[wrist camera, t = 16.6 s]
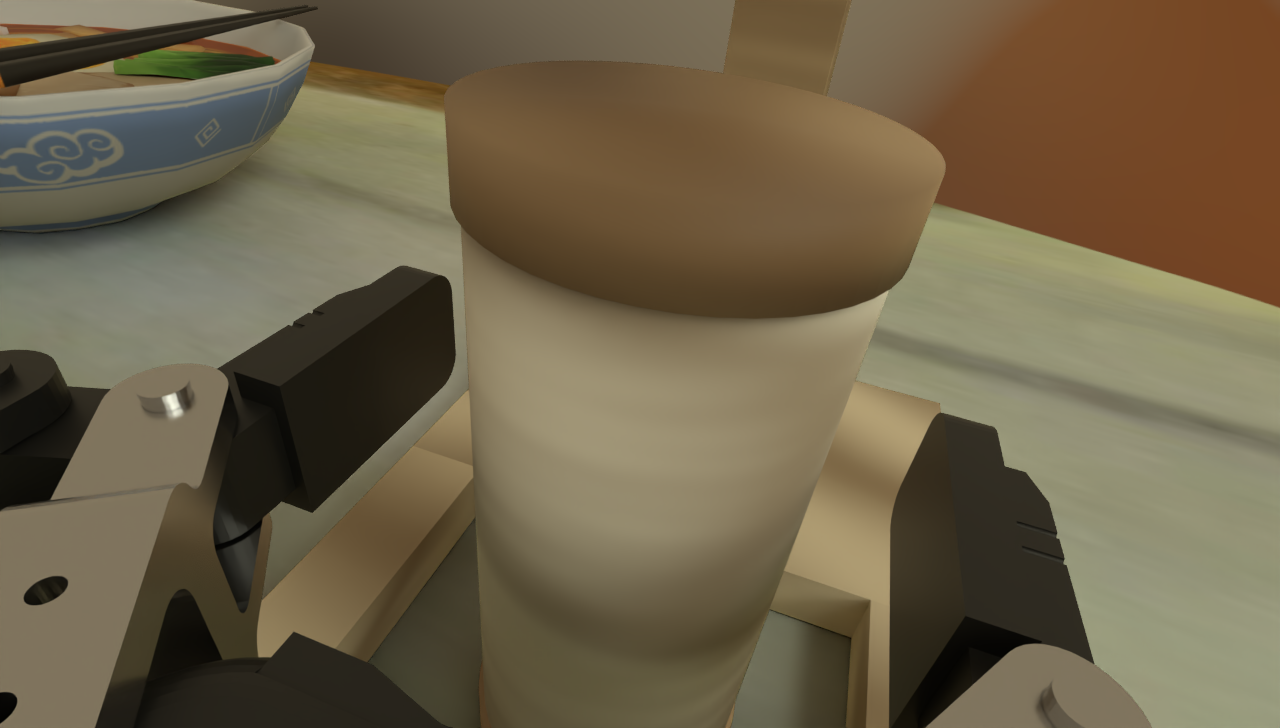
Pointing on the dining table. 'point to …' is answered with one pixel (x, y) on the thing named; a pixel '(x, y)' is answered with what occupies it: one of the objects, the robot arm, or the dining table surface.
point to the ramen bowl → (134, 102)
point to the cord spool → (657, 364)
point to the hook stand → (826, 542)
